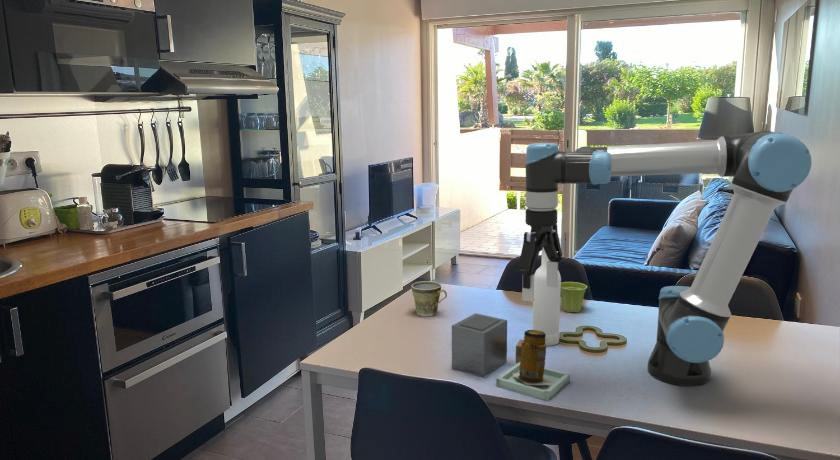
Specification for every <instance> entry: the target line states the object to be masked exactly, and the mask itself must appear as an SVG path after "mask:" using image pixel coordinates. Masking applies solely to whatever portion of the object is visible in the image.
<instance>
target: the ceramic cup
mask: <svg viewBox="0 0 840 460" xmlns="http://www.w3.org/2000/svg"><path fill="white" fill-rule="evenodd" d="M410 287H411V291H412V292H411V293H412V296H413V299H414V306H415V311H416V314H417V316H419V315H421V316H420V317H423V316H431V317H434V316H436V315H437V313H438V306H439V304H440V303H441V302H442V301H444V300H445V299H446V298H447V296H448V295H447V294H448V293H447V292H446V290H445V289H442V284H441V282H436V281H430V280H428V281H426V280H423V281H416V282H414V283H412V284H411V286H410ZM441 293H444V295H445V296H444V297H443V298H441V299H440V296H441ZM435 314H436V315H435ZM433 315H434V316H433Z"/></svg>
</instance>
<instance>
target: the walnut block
mask: <svg viewBox="0 0 840 460" xmlns="http://www.w3.org/2000/svg"><path fill="white" fill-rule="evenodd" d="M523 341H524V339H519V340H518V341H517V343H516V345H515V364H517V363H519V362H520V360H521V350H522V342H523Z"/></svg>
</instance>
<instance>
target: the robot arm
mask: <svg viewBox="0 0 840 460" xmlns="http://www.w3.org/2000/svg"><path fill="white" fill-rule="evenodd" d="M525 153H526V157H525V194H524V197H525V207H526V209H525V220H524V221H525V224H526V226H530V228H531V229H530V232H528V231H527V232H526V231H525V232H523V233H524V234H523V242H522V248H521V252H520V257H519V261H518V265H517V271H516V272H517V274H519V275H522V276H521V277H522V289H521V290H522V291H521V293H522V296H521V297H522V298H521V300H522V301H524V302H529V303H530V302H531V303H533V302H534V275H535V274H533V273H534V271H535V268H536V267H535V266H536V264H537V261H538V257H539V255H540V252H542V249H543V248H544V250H545V252H546V255H547V257H548V259H549V260H550V261H547V279H546V286H548V287H554V288H557V287H558V271H559V262H561V263H562V261H563V251H562V247H561V242H560V237H559V234H558V210H557V207H559V205H558V203H559V192H558V191H559V188H558V185H560V184H561V185H564V184H577V185H581V184H582V185H595V186H596V185H604V184H605V185H606V184H609V183H610V182H611V178H612V177H629V176H630V177H632V176H657V175H658V176H659V175H660V176H661V175H663V176H664V175H691V174H692V175H695V174H717V176H719V177H720V178H727V177H732V181H731V183H730V186H731V188H732V190H733V196H732V198H731V200H730V202H729V204H728V206H727V208H726V211H725V213H724V214H723V217H722V220H721V221H720V223H719V225H718V227H717V230H716V233H715V234H714V236H713V239H712V241H711V242H710V245H709V247H708V249H707V252H706V253H705V256H704V257H703V260H702V263H701V264H700V267H699V268H698V271H697V273H696V274H695V277H694V278H693V279H694V280H693V282H692V284H691V286H684V285H683V286H682V285H670V286H669V285H667V286H663V287H662V288H661V289H660V290H659V295H658V296H659V297H658V301H659V302H658V316H657V327H656V328H657V330H656V342H655V344H654V347H653V350H652V351H651V353H650V356H649V358H648V361H647V372H648V373H649V374H650V375H651V376H652V377H653V376H654V377H653V378H655V379H657V380H660V381H662V382H664V381H665V383H668V384H671V385H677V384H679V385H678V386H685V385H694V386H699V384H701V385H704V384H703V383H705V384H706V382H707V383H708V382H709V381H711V373H712V369H711V368H712V367H711V364H710V362H709V361H711V360H713V359H714V358H716V357H717V356H718V355H719V354H720V353H721V352H722V350H723V347H724V343H725V340H724V339H725V334H724V331H725V329H726V326H727V324H728V322H729V320H730V318H731V316H732V312H731V310H730V308H729V304H730V302H731V299H732V297H733V295H734V293H735V291H736V289H737V286H738V285H739V283H740V281H741V278H742V276H743V274H744V272H745V270H746V268H747V266H748V264H749V263H750V261H751V258H752V256H753V255H754V252H755V250H756V248H757V246H758V243H759V242H760V240H761V237H762V235H763V234H764V232H765V230H766V227H767V225H768V224H769V221H770V219H771V218H772V216H773V214H774V211H775V209H777V207H781V206H782V205H786V203H787V202H788V200H789V198H790V196H791V195H792V192H793V191H794V189H795V188H797V187H799V186H800V185H801V184H803V183H804V182H805V180H806V179H807V178H808V176H809V175H810V172H811V169H812V155H811V153H810V150H809V148H808V147H807V145H806V144H805V143H804V142H803V141H801V140H800V139H798V137H796V136H794V135H791V134H789V133H783V132H775V131H770V130H762V131H761V130H760V131H756V132H750V133H748V132H747V133H742V134H736V135H726V136H724V135H723V136H722V135H721V136H720V137H718V138H717V140H713V141H712V140H711V141H709V140H708V141H691V142H690V141H689V142H671V143H652V144H650V143H649V144H648V143H647V144H629V145H612V146H611V145H610V146H592V147H591V146H580V147H579V148H576V149H575V150H574V151H561V150H560V149H559V145H558V144H557V143H555V142H536V143H530V144H528V145H527V147H526V152H525ZM673 383H674V384H673Z"/></svg>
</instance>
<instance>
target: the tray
mask: <svg viewBox="0 0 840 460" xmlns="http://www.w3.org/2000/svg"><path fill="white" fill-rule="evenodd" d="M519 371H520V362H519V363H515V364H514V365H513V366H512V367H510V368H509V369H507V370H506V371H505V372H503V373H502V374H500V375H498V377H496V379H495V386H496V387H499V388H502V389H504V390H509V391H512V392H517V393H519V394H523V395H527V396H530V397H532V398H537V399H539V400H543V401H546V402H547V401H548V402H549V400H551V399H552V398H553V397H554V396H555V395H556V394H558V392H560V391H561V390H562V389H563V388H564V387H565V386H566V385H568V384H569V383H570V382H571V373H567V372H563V371H561V370H557V369H553V368H552V369H551V368H548V367H544V375H543V378H544V379H546V380H548V381H549V382H550V383H552V384H553V385H526V384H524V383H523V382H522V381H520V380H519V379H518V378H516V377H515V376H514V375H513V373H518V374H519Z"/></svg>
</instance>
